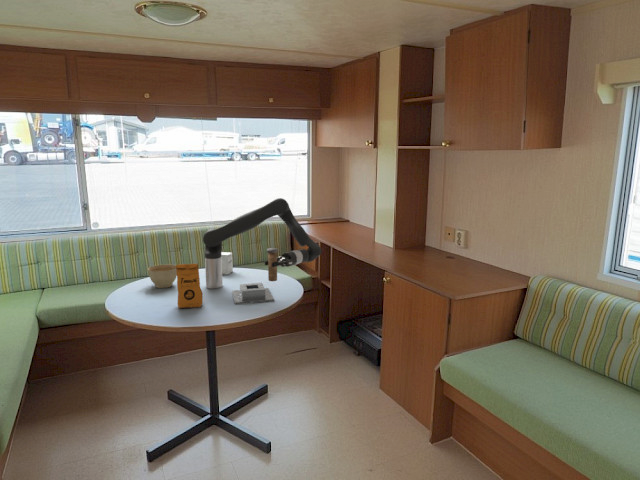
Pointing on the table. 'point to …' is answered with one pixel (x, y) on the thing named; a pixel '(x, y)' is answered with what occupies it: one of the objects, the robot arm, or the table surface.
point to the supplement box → (227, 263)
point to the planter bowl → (163, 275)
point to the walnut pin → (271, 258)
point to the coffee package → (188, 286)
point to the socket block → (252, 294)
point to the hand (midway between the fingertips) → (268, 264)
